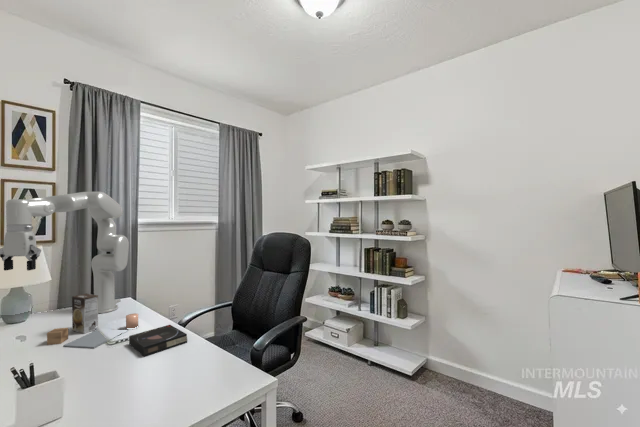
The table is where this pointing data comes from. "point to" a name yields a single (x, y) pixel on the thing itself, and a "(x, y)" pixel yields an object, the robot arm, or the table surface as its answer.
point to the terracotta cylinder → (132, 320)
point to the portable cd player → (157, 340)
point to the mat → (88, 341)
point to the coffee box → (84, 313)
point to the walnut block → (57, 336)
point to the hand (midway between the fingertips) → (19, 269)
